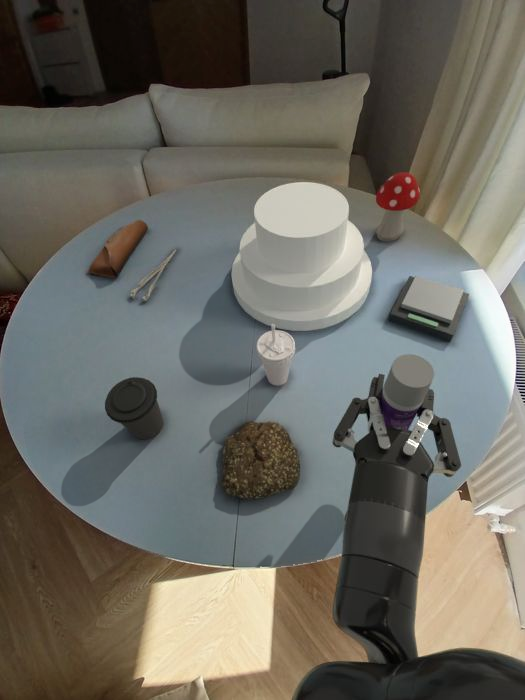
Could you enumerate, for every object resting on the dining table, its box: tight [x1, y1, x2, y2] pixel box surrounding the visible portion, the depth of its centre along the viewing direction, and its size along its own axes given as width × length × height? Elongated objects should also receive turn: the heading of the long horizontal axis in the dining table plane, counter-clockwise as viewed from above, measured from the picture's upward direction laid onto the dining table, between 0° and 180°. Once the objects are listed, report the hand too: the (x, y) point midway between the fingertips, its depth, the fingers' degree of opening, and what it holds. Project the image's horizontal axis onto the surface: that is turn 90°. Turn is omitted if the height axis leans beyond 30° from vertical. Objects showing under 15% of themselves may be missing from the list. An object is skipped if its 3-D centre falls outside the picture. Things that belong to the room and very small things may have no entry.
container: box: [379, 353, 435, 430], centre depth 49 cm, size 5×5×15 cm
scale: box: [388, 275, 470, 343], centre depth 78 cm, size 12×12×3 cm
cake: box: [230, 181, 373, 332], centre depth 80 cm, size 30×30×18 cm
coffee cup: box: [104, 376, 164, 441], centre depth 64 cm, size 8×8×10 cm
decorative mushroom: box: [375, 171, 421, 242], centre depth 88 cm, size 10×9×15 cm
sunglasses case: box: [87, 219, 149, 279], centre depth 96 cm, size 18×7×7 cm, turn 167°
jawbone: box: [129, 249, 177, 302], centre depth 91 cm, size 17×5×2 cm, turn 160°
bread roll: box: [220, 420, 301, 500], centre depth 61 cm, size 13×12×5 cm
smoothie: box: [256, 324, 296, 387], centre depth 66 cm, size 6×6×14 cm
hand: (401, 382), depth 49 cm, fingers closed on container, 4 cm apart
